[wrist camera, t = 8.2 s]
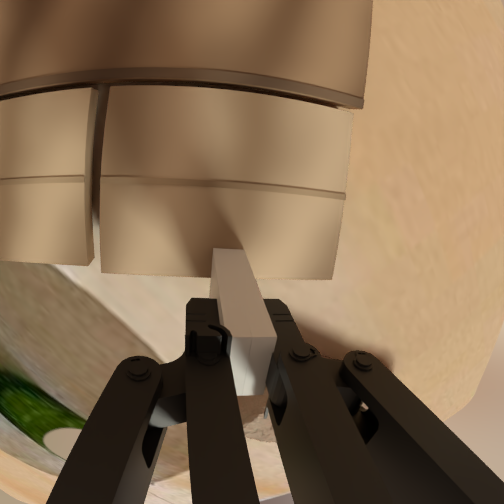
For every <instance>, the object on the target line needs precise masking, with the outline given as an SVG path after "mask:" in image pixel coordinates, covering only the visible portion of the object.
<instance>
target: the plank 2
mask: <svg viewBox="0 0 504 504" xmlns="http://www.w3.org/2000/svg"><path fill="white" fill-rule="evenodd" d="M352 127H353V113H351V112H347V111H343V110H339V109H335V108H331V107H327V106H323V105H318V104H314V103H309V102H304V101H299V100H294V99H289V98H283V97H277V96H271V95H265V94H258V93H251V92H243V91H235V90H226V89H215V88H203V87H187V86H160V85H132V86H110V92H109V98H108V105H107V112H106V120H105V129H104V139H103V150H102V163H101V177H100V255H101V273H114V274H133V275H154V276H178V277H205V278H211V271H212V256H213V248H222V249H241V250H245V253H246V255H247V258H248V261H249V263H250V266H251V269H252V271H253V274H254V277H255V279H289V280H332V276H333V271H334V265H335V260H336V254H337V248H338V242H339V236H340V229H341V223H342V216H343V209H344V202H345V199H346V186H347V178H348V169H349V160H350V150H351V139H352Z"/></svg>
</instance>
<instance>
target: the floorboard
mask: <svg viewBox="0 0 504 504" xmlns="http://www.w3.org/2000/svg"><path fill="white" fill-rule="evenodd" d="M372 7H373V0H0V98H3V97H7V96H12V95H17V94H22V93H27V92H33V91H39V90H45V89H52V88H59V87H67V86H76V85H87V84H100V83H119V82H175V83H195V84H209V85H220V86H230V87H238V88H246V89H254V90H261V91H267V92H273V93H279V94H285V95H290V96H296V97H301V98H305V99H310V100H315V101H319V102H324V103H328V104H332V105H336V106H340V107H344V108H348V109H362V108H363V105H364V91H365V83H366V75H367V67H368V57H369V47H370V36H371V23H372Z"/></svg>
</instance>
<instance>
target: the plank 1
mask: <svg viewBox="0 0 504 504" xmlns="http://www.w3.org/2000/svg"><path fill="white" fill-rule="evenodd" d="M98 93H99V91H98V90H96V89H93V88H80V89H70V90H61V91H54V92H47V93H40V94H34V95H28V96H23V97H17V98H12V99H8V100H3V101H0V260H4V261H18V262H32V263H47V264H62V265H78V266H89V264H90V263H91V262H92V260H93V259H94V258H95V257H94V243H93V223H92V164H93V144H94V130H95V119H96V110H97V101H98Z"/></svg>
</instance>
